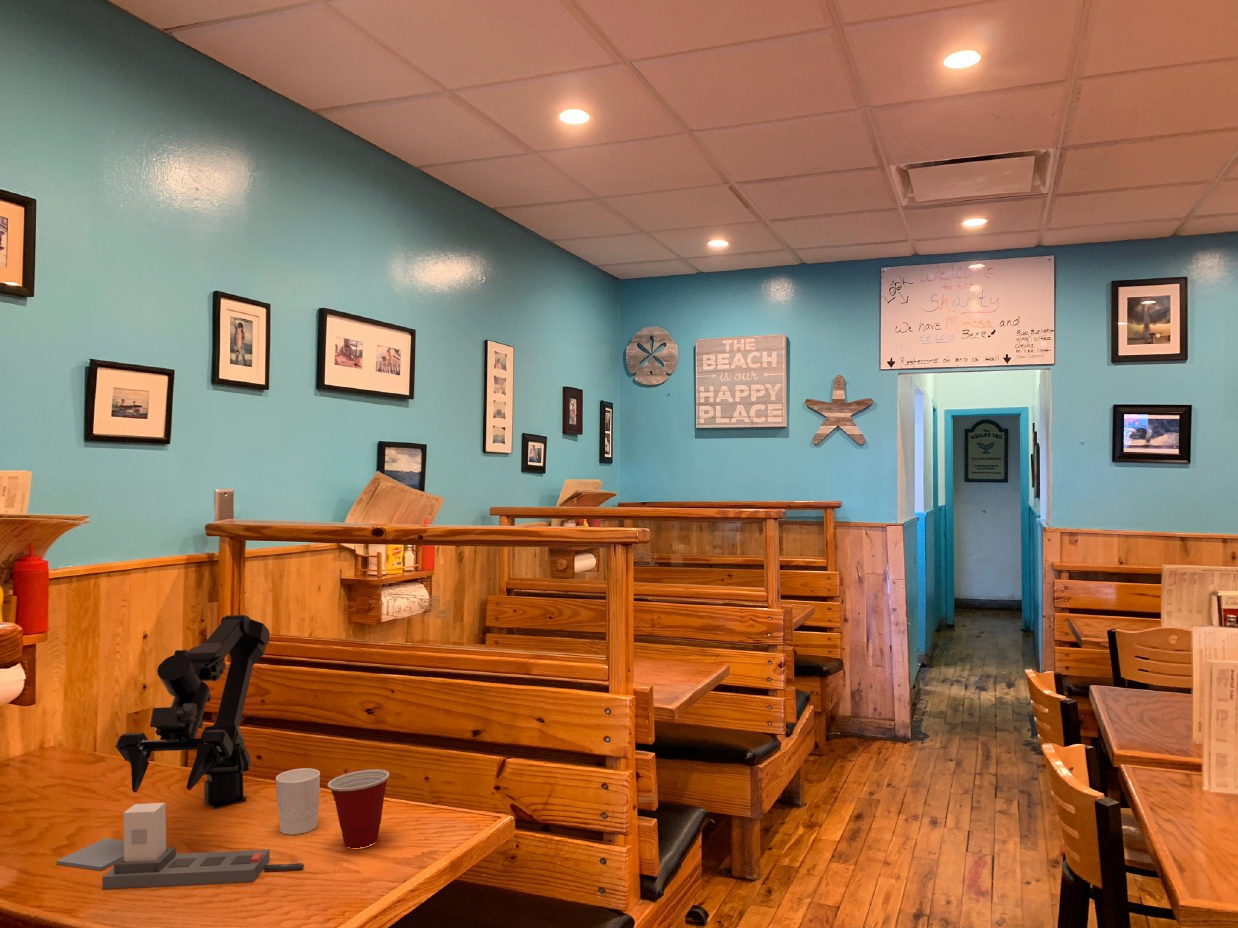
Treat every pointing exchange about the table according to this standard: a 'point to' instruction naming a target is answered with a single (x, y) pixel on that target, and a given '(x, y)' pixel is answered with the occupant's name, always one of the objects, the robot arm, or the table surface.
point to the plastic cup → (359, 805)
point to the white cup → (298, 800)
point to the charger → (144, 832)
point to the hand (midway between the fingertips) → (161, 790)
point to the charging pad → (96, 855)
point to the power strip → (193, 869)
